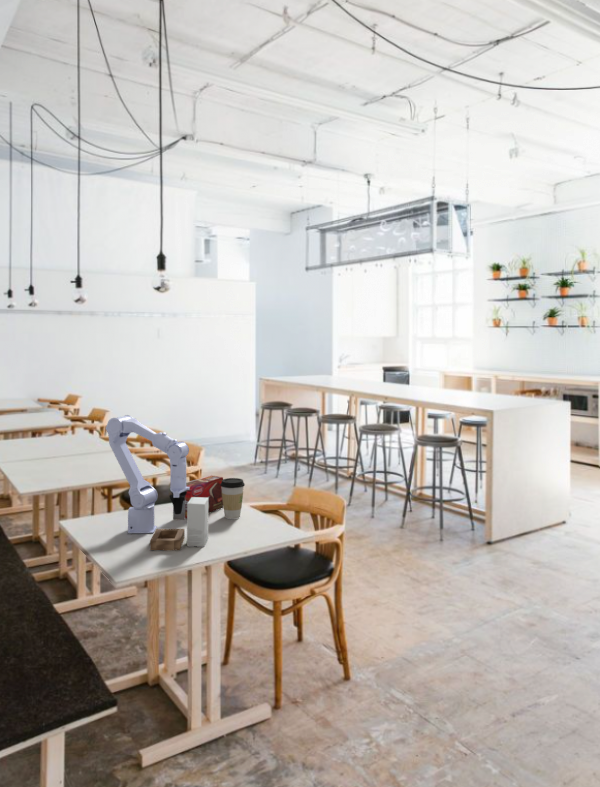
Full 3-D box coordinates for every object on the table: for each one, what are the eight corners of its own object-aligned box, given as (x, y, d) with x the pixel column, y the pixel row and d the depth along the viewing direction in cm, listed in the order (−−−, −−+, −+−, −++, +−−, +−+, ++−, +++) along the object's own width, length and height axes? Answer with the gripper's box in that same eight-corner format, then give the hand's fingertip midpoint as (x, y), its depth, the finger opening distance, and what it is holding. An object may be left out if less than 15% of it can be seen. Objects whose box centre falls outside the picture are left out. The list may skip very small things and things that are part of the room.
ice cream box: (211, 505, 274) (211, 475, 272) (223, 508, 270) (223, 477, 269) (179, 517, 257) (179, 484, 255) (191, 519, 253) (191, 486, 252)
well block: (150, 550, 216) (150, 540, 216) (156, 538, 229) (156, 528, 229) (179, 550, 217) (179, 540, 217) (184, 538, 230) (184, 528, 230)
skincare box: (191, 539, 229) (191, 496, 228) (209, 539, 229) (209, 497, 227) (186, 546, 221) (186, 502, 219) (205, 547, 220) (205, 503, 219)
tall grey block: (173, 519, 231) (173, 503, 231) (174, 516, 235) (174, 500, 235) (184, 519, 232) (184, 503, 231) (185, 516, 236) (185, 500, 235)
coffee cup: (249, 516, 259) (249, 479, 257) (234, 521, 250) (234, 484, 249) (230, 512, 264) (230, 476, 263) (215, 517, 256) (215, 481, 254)
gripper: (187, 480, 225) (187, 517, 226) (191, 471, 239) (191, 506, 241) (167, 480, 224) (167, 517, 226) (172, 471, 239) (172, 506, 240)
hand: (178, 512), depth 233 cm, fingers closed on tall grey block, 4 cm apart
